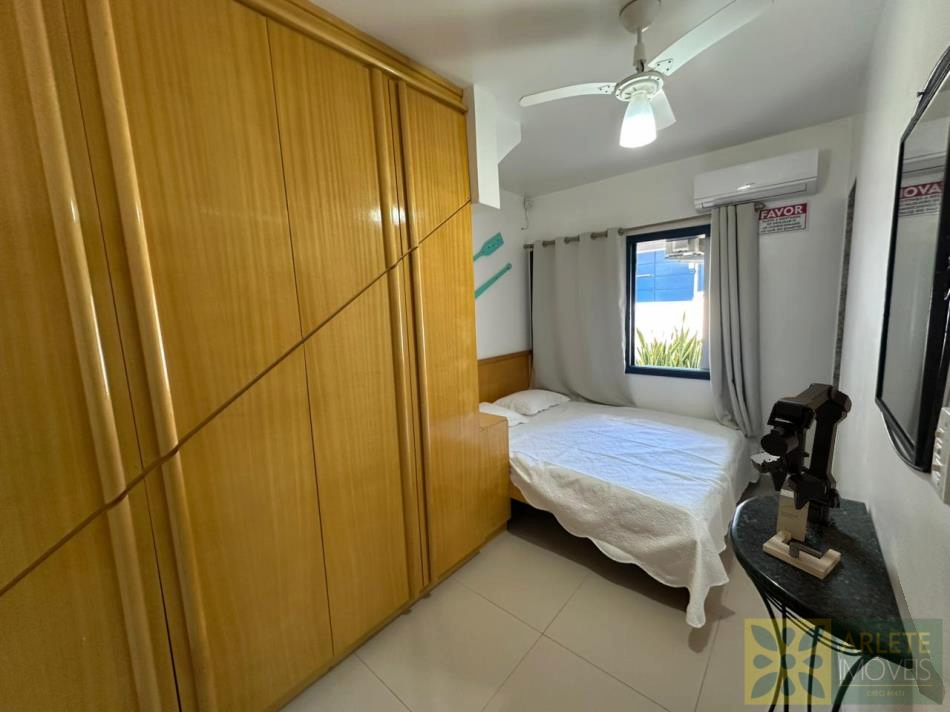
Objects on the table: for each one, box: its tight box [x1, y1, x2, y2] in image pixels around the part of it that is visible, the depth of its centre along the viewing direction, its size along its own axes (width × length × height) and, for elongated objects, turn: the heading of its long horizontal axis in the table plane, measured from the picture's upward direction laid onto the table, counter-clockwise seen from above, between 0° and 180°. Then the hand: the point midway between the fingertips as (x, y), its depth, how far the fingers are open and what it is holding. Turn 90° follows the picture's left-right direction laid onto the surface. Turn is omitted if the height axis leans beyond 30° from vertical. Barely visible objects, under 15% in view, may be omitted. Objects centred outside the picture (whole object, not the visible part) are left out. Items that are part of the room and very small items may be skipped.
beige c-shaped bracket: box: [762, 529, 841, 580], centre depth 93 cm, size 12×12×6 cm
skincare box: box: [775, 488, 809, 542], centre depth 101 cm, size 6×4×12 cm
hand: (787, 499), depth 97 cm, fingers open, 9 cm apart
